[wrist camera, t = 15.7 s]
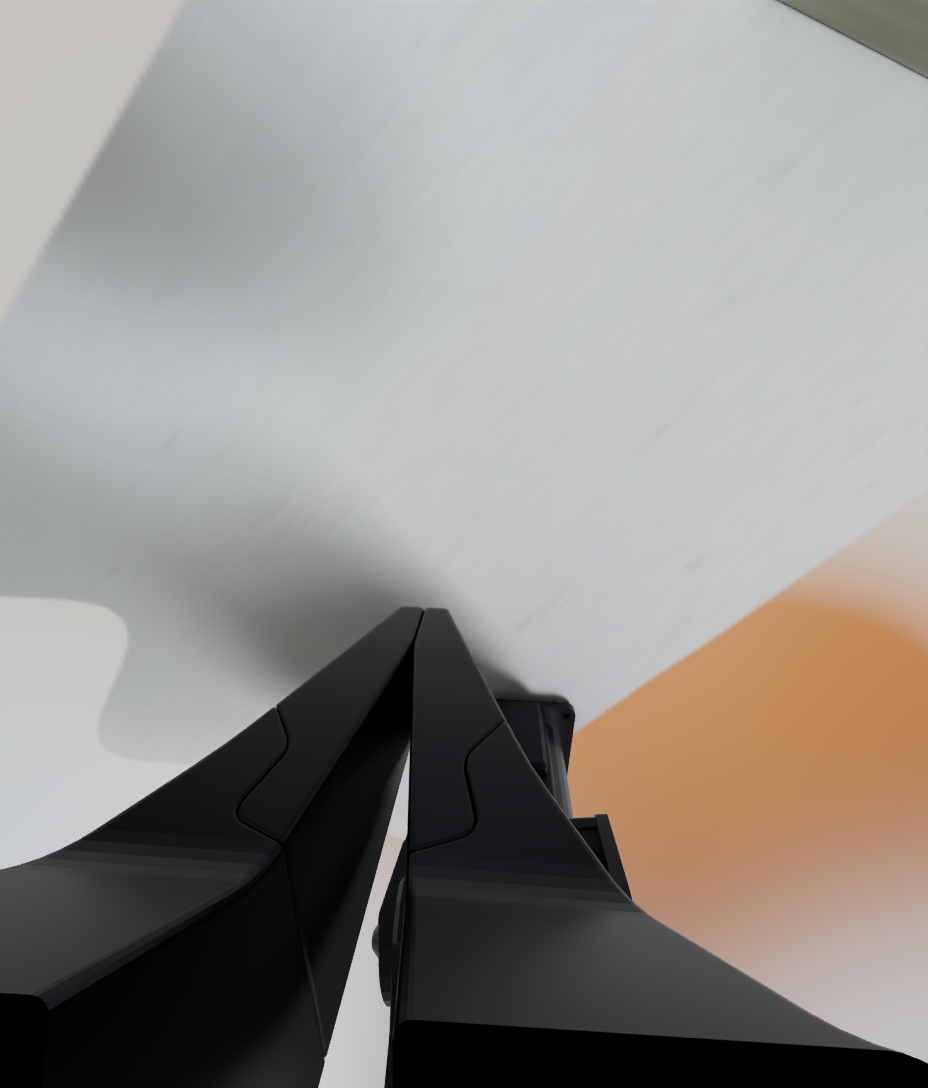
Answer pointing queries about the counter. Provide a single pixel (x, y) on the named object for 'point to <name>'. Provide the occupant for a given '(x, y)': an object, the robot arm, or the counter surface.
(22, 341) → the counter surface
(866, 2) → the drawer
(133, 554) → the counter surface
